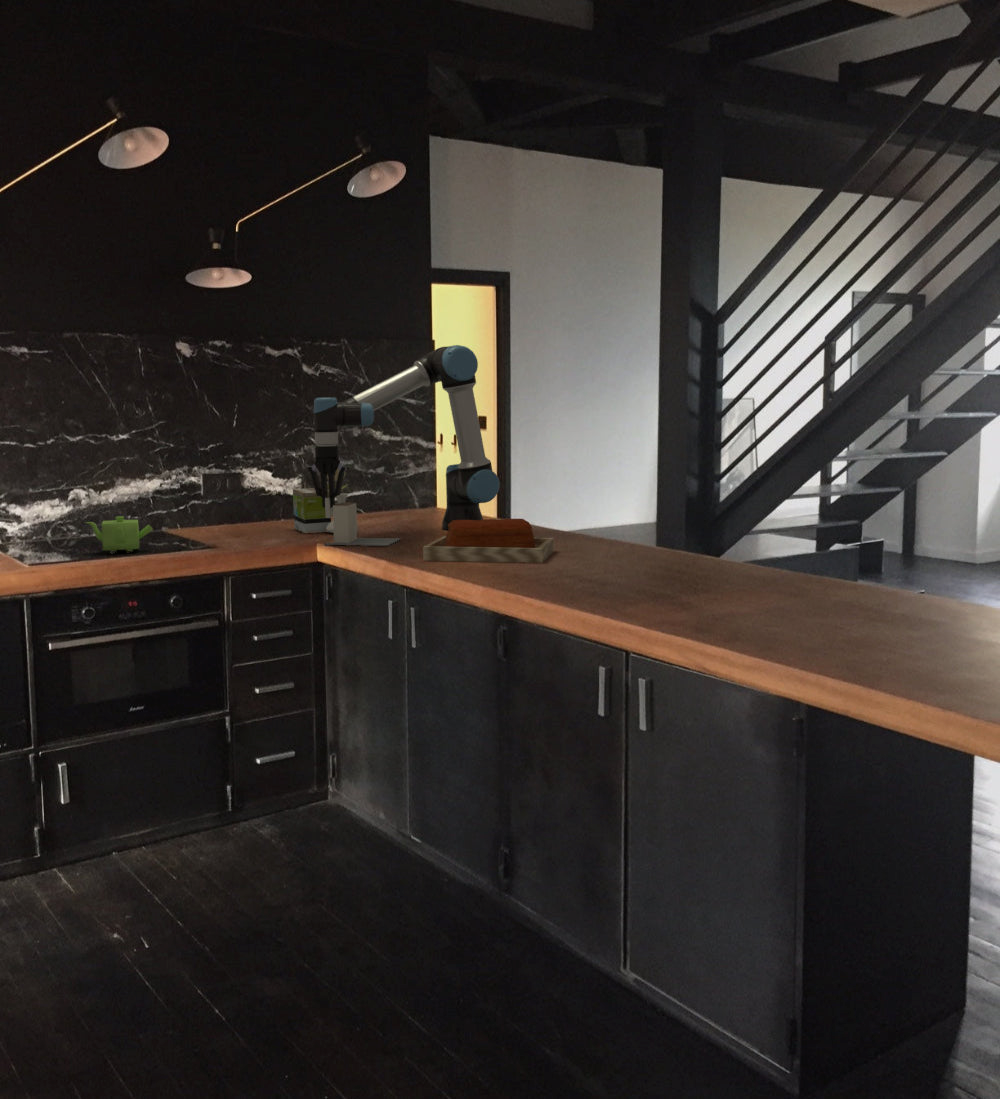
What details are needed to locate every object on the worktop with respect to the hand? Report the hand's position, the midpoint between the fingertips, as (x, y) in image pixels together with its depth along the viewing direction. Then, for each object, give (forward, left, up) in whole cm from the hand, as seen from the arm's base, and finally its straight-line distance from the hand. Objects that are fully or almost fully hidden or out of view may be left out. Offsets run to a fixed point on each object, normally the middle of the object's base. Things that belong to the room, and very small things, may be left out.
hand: (329, 517), depth 374 cm
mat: (-11, 0, -8) cm, 14 cm away
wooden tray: (-58, +23, -8) cm, 63 cm away
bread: (-58, +23, -8) cm, 63 cm away
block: (-5, 0, -8) cm, 9 cm away
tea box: (+17, -29, -9) cm, 34 cm away
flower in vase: (+5, -24, -9) cm, 26 cm away
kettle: (+59, +29, -9) cm, 66 cm away
